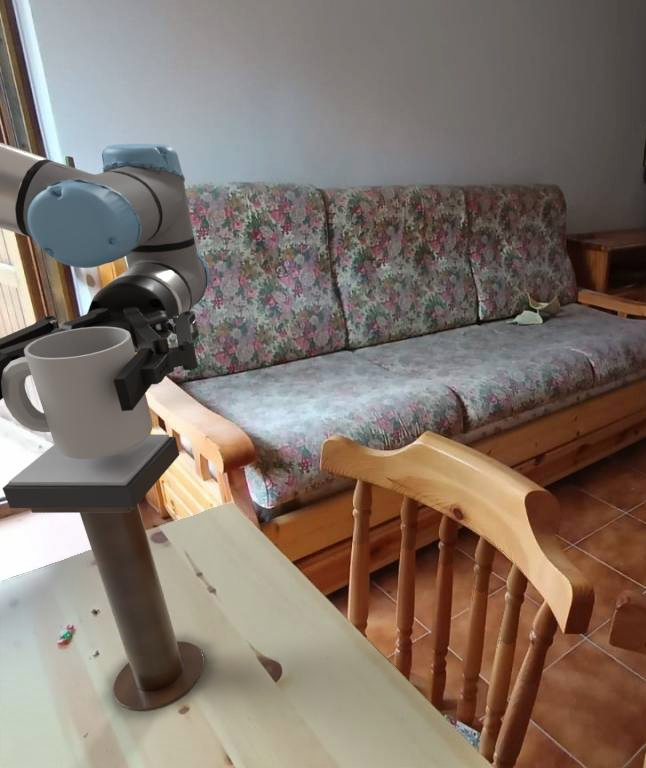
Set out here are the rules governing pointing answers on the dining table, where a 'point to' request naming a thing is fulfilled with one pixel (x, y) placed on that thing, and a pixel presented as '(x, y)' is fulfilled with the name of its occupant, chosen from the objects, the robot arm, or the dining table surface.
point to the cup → (78, 392)
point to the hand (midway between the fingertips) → (45, 399)
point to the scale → (92, 477)
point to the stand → (138, 610)
